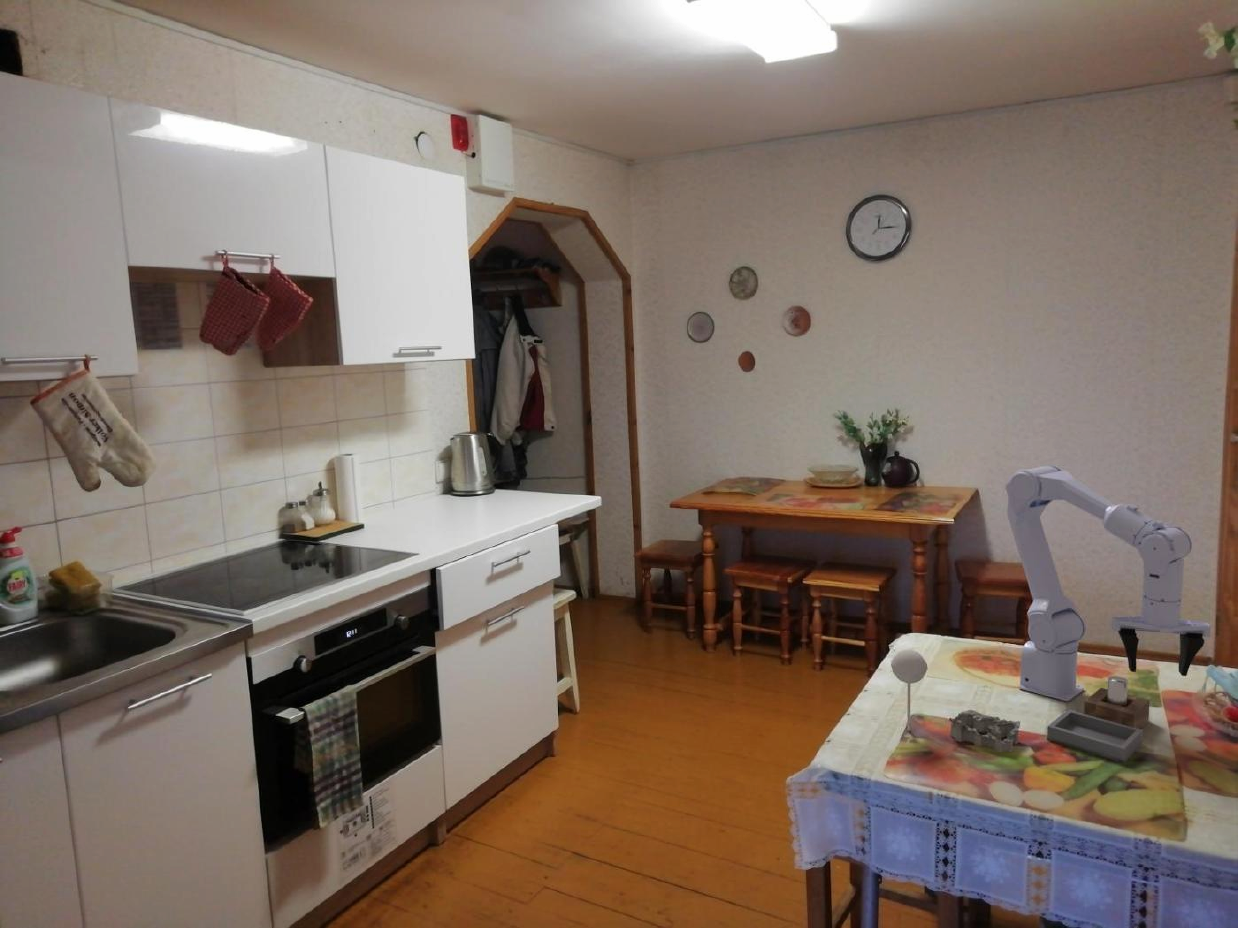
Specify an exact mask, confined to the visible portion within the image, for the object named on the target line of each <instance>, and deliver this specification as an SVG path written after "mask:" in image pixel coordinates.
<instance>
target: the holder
mask: <svg viewBox="0 0 1238 928" xmlns="http://www.w3.org/2000/svg"><path fill="white" fill-rule="evenodd" d="M1107 696H1108V688H1103V687H1100V688H1098V689H1097V690H1096V692H1094V693H1093V694H1091V695H1090V696H1089V697H1087V699H1085V700H1084V701H1083V703H1084V707H1083V708H1084V710H1083V714H1086V715H1090V716H1093V717H1097V718H1100V719H1104V720H1108V721H1111V722H1115V723H1119V724H1122V725H1126V726H1129V727H1133V728H1137V729H1140V730H1142V728H1143V727H1144V726H1146V724H1147V723H1148V722H1149V721H1150V719H1149V718H1150V701H1151V700H1150V699H1147V698H1143V697H1139V696H1135V695H1131V694H1128V693H1127V707H1126V708H1125V707H1121V706H1117V705H1113V704H1110V703H1107Z"/></svg>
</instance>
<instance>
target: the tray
mask: <svg viewBox="0 0 1238 928" xmlns="http://www.w3.org/2000/svg"><path fill="white" fill-rule="evenodd" d="M1046 727H1047V728H1046V729H1047V730H1046V739H1047V740H1046V741H1049V742H1052V743H1056V744H1059V745H1063V746H1066V747H1068V748H1071V749H1075V750H1079V751H1082V752H1084V753H1085V752H1086V753H1089V754H1092V755H1095V756H1099V757H1102V758H1105V759H1109V760H1112V761H1114V762H1118V763H1121V764H1124V763H1126V762H1127V761H1128V759H1130V758H1131V757H1132V755H1134V753H1135V752H1136V751H1138V749H1139V748H1140V747H1141V746H1142V745H1143V735H1144V730H1143V729H1137V728H1133V727H1129V726H1126V725H1122V724H1119V723H1115V722H1111V721H1108V720H1104V719H1100V718H1097V717H1093V716H1090V715H1086V714H1084V713H1082V712H1078V711H1074V710H1072V709H1071V710H1070V709H1067V710H1066V711H1064V712H1063V713H1062V714H1061V715H1059V716H1058V717H1057V718H1056V719H1054V720H1053V721H1052V722H1051V723H1049V724H1048V725H1047V726H1046Z"/></svg>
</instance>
